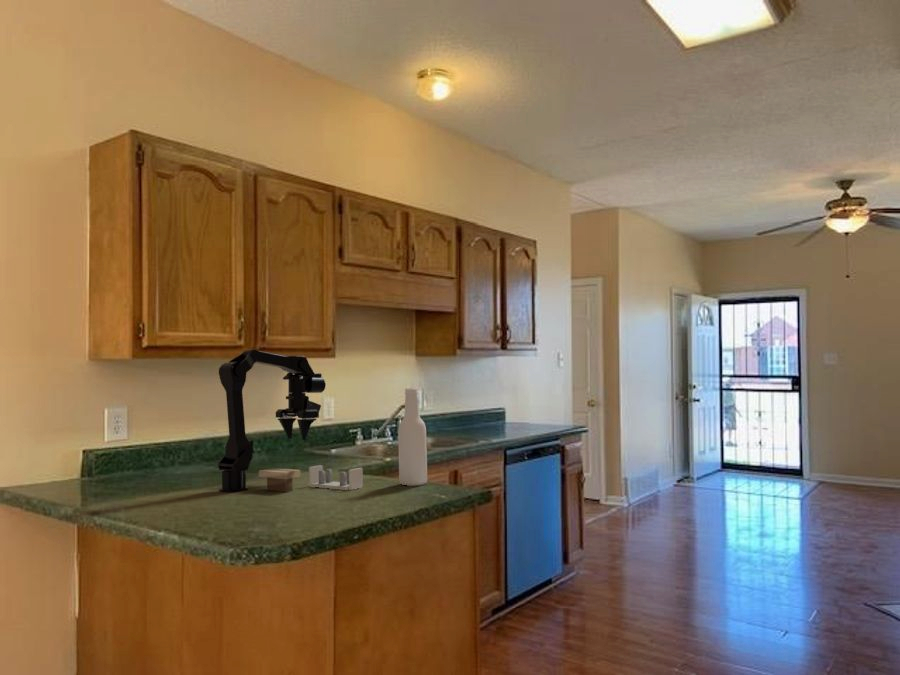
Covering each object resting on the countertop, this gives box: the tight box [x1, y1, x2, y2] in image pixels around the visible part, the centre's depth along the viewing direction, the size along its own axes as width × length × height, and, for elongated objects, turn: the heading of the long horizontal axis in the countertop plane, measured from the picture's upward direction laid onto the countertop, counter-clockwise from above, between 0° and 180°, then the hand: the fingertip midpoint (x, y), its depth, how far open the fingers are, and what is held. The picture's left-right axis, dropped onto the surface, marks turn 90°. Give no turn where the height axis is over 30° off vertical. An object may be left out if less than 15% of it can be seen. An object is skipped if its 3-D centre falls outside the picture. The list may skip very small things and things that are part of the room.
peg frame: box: [308, 464, 364, 491], centre depth 216 cm, size 7×18×6 cm, turn 56°
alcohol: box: [397, 387, 428, 487], centre depth 218 cm, size 9×9×30 cm
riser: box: [266, 478, 293, 493], centre depth 212 cm, size 3×8×4 cm, turn 56°
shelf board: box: [258, 467, 302, 479], centre depth 212 cm, size 6×12×2 cm, turn 56°
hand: (296, 439), depth 234 cm, fingers open, 9 cm apart
